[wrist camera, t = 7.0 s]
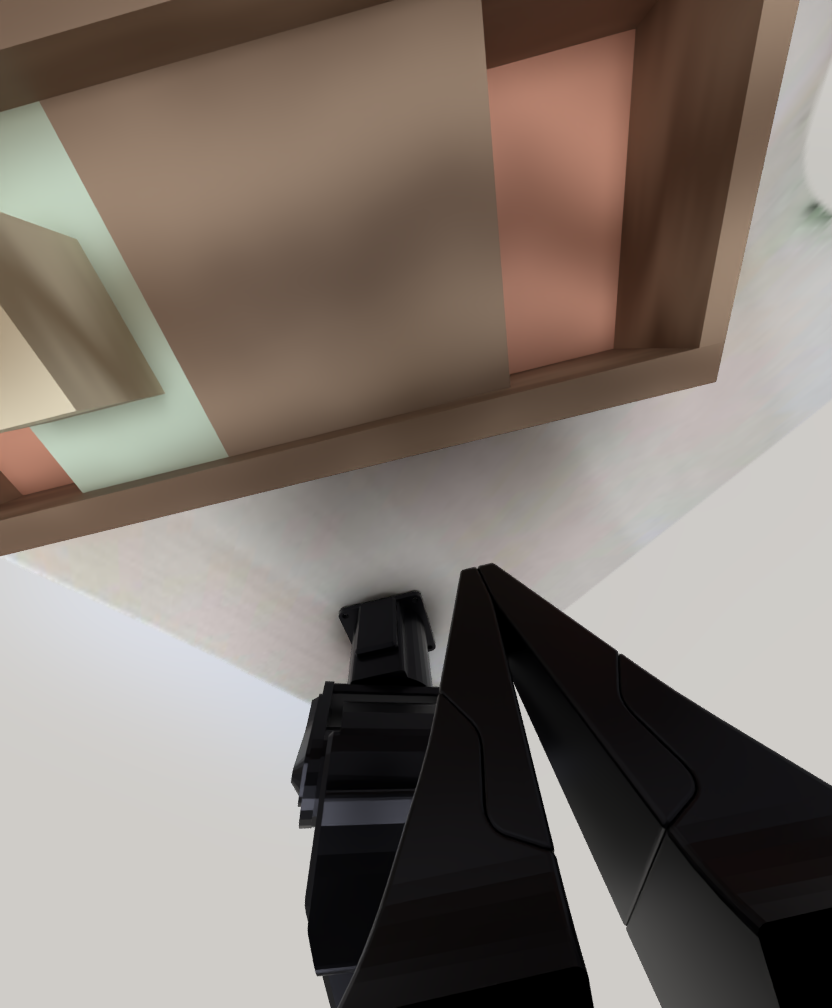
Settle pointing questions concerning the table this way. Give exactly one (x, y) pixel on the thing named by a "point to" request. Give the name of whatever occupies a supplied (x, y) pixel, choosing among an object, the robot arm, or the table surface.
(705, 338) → the tray
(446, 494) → the table surface
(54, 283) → the maple block
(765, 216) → the table surface
